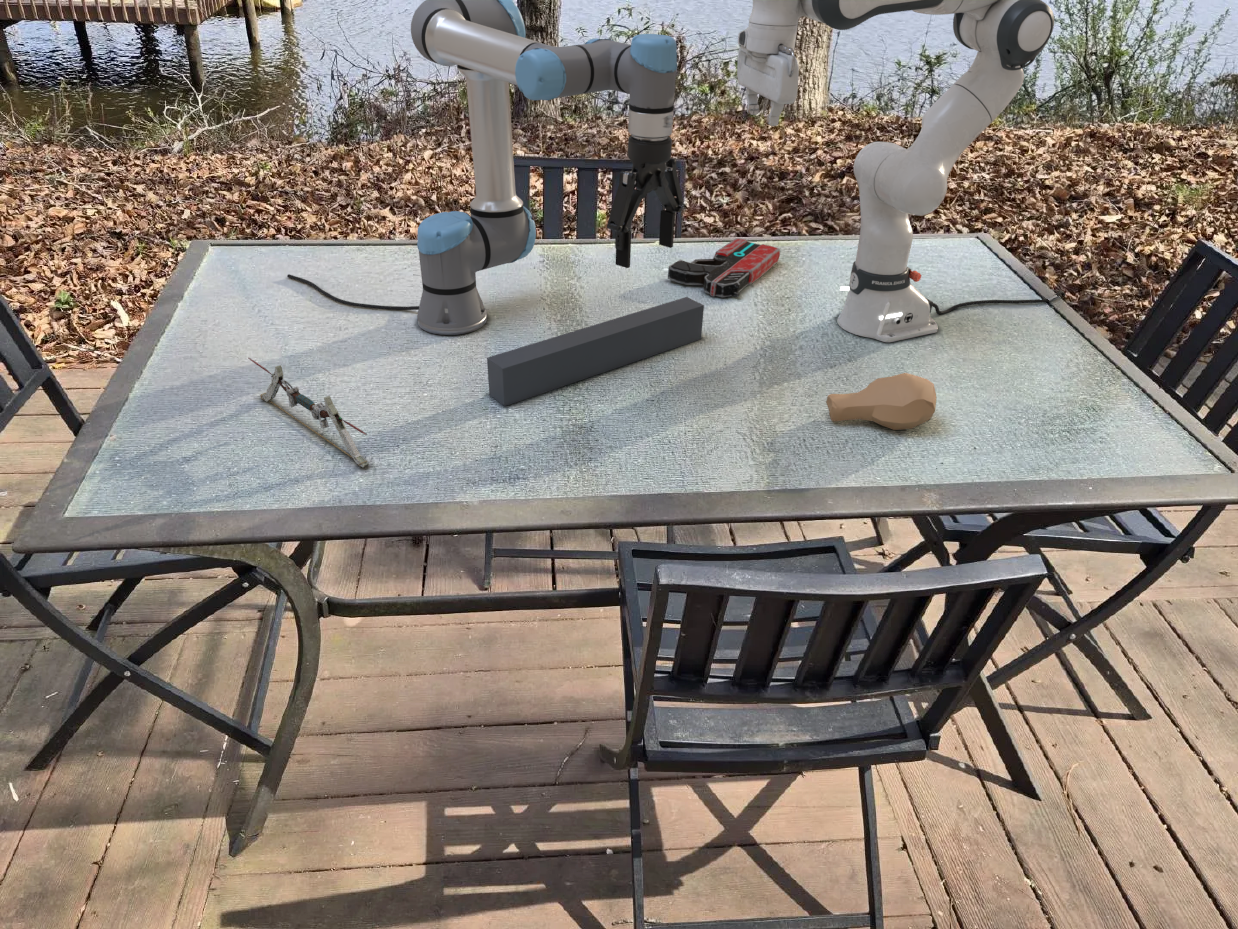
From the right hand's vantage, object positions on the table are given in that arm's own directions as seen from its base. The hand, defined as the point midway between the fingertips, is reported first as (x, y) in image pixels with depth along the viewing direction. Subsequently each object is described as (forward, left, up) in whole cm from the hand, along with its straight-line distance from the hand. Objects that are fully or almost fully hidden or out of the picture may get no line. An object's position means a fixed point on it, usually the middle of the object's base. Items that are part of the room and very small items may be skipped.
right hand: (762, 119), depth 169 cm
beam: (+33, +7, -46) cm, 57 cm away
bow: (+90, +22, -46) cm, 103 cm away
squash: (-13, +40, -46) cm, 62 cm away
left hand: (+27, +15, -20) cm, 37 cm away
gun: (-10, -36, -46) cm, 59 cm away
